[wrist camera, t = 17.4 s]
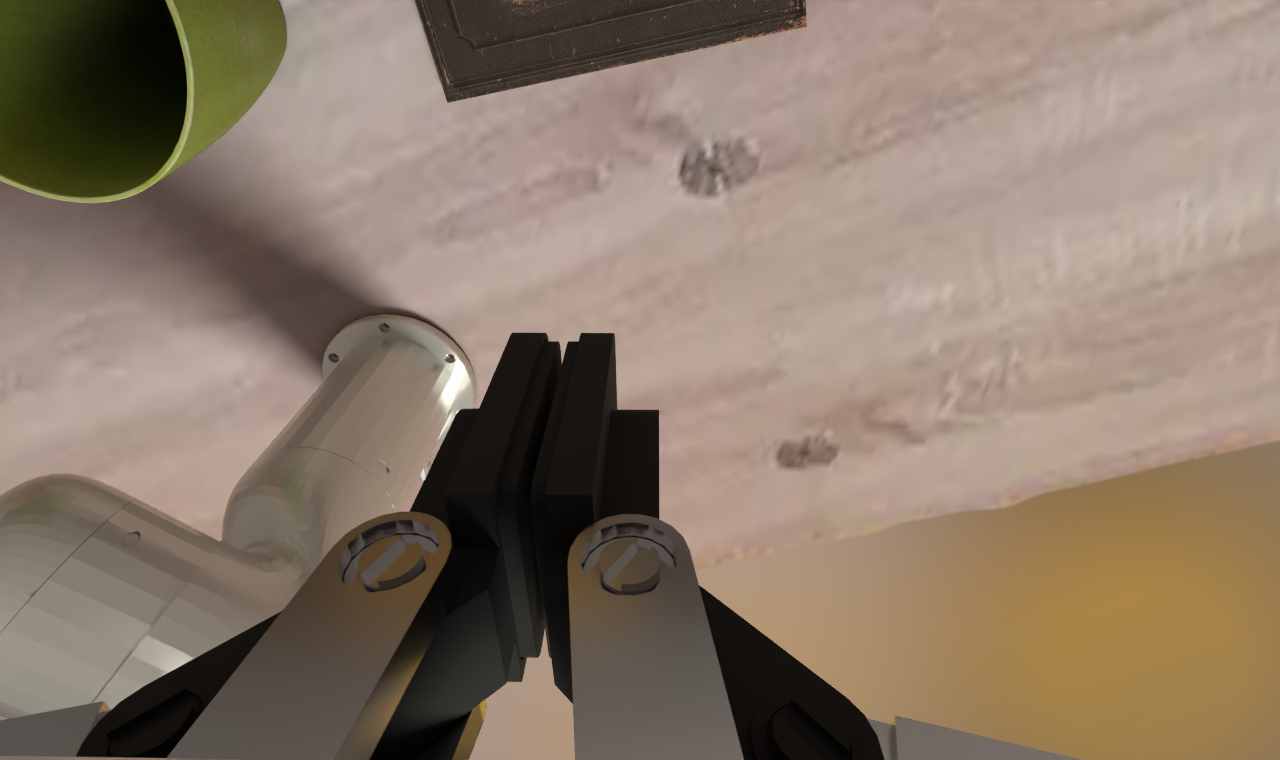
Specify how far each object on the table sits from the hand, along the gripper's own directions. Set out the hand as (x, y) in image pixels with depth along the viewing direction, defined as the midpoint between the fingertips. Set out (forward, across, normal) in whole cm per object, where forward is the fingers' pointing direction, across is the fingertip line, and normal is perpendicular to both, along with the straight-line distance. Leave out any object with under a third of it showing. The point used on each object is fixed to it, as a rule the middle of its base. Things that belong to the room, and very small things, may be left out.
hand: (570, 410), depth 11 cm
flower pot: (+37, +26, -5) cm, 46 cm away
